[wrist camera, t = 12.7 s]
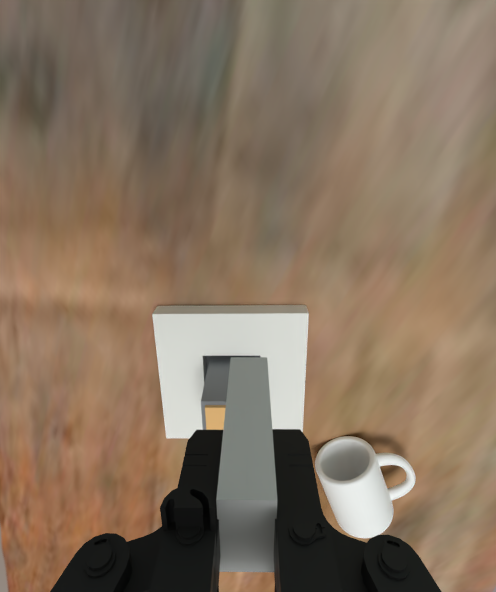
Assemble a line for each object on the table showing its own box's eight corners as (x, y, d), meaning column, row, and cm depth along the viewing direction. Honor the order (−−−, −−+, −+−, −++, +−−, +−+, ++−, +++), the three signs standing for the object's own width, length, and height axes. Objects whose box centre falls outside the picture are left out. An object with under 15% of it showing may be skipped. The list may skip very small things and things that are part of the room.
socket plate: (157, 305, 45) (151, 316, 42) (305, 305, 45) (309, 315, 42) (170, 425, 51) (165, 441, 49) (299, 425, 51) (302, 441, 48)
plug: (211, 352, 47) (200, 404, 37) (254, 352, 47) (254, 403, 37) (213, 388, 49) (203, 447, 39) (254, 388, 49) (255, 447, 39)
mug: (330, 493, 56) (342, 545, 48) (310, 444, 52) (319, 492, 45) (409, 472, 54) (434, 523, 47) (393, 420, 51) (418, 466, 43)
